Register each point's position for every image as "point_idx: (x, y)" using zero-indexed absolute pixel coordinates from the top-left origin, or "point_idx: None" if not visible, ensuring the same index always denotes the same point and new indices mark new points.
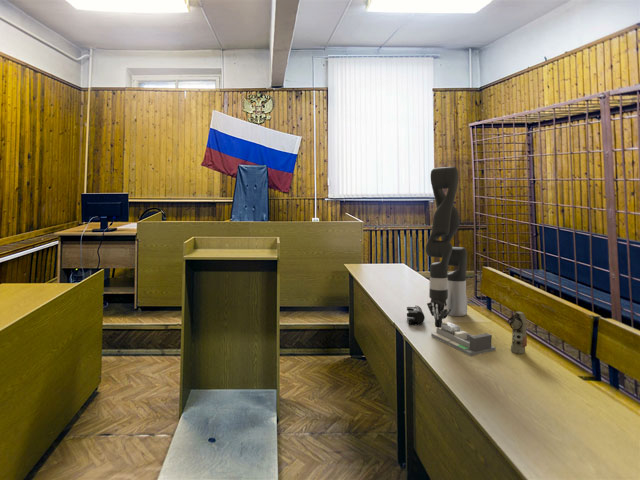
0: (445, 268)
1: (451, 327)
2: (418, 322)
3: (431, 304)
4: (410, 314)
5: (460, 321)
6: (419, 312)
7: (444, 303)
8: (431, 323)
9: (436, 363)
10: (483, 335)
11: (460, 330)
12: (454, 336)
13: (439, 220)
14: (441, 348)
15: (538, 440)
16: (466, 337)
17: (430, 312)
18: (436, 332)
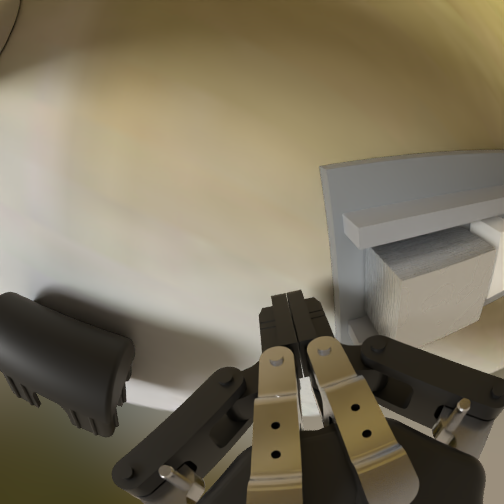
0: None
1: (475, 315)
2: (132, 359)
3: (192, 498)
4: (114, 423)
5: (86, 16)
6: (111, 412)
7: (463, 496)
8: (90, 252)
9: (487, 368)
10: None
11: (462, 216)
12: (488, 301)
13: None
14: (455, 340)
15: None
16: (496, 218)
17: (215, 428)
18: (350, 335)
